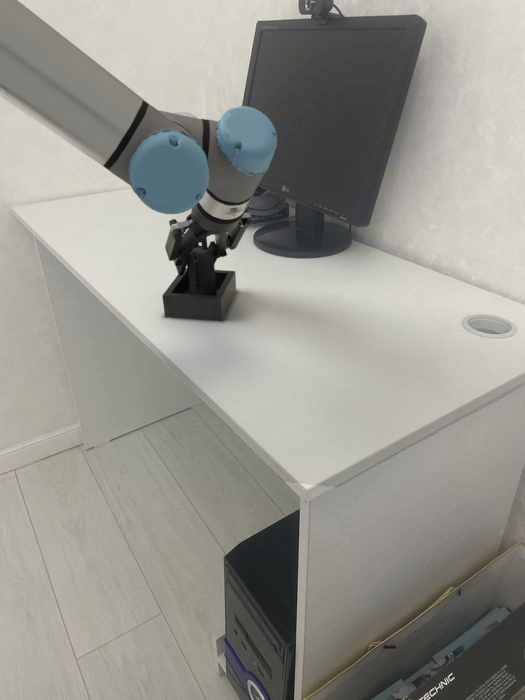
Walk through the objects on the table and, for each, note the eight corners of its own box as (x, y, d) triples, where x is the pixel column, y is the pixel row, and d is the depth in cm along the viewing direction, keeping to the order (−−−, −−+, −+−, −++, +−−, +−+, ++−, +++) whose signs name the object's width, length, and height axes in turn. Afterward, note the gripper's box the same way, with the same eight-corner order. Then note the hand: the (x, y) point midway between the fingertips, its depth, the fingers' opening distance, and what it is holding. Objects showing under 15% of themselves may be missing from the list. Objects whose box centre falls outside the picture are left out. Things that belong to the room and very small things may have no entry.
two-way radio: (220, 299, 96) (215, 220, 88) (204, 308, 93) (197, 227, 85) (198, 291, 99) (191, 214, 91) (182, 300, 96) (173, 221, 88)
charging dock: (164, 317, 92) (162, 295, 90) (184, 288, 102) (182, 267, 100) (221, 321, 91) (220, 299, 88) (236, 291, 101) (235, 270, 99)
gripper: (169, 231, 71) (151, 294, 92) (284, 213, 78) (243, 275, 99) (154, 183, 72) (140, 256, 94) (269, 169, 79) (231, 240, 100)
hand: (193, 266), depth 96 cm, fingers closed on two-way radio, 5 cm apart
